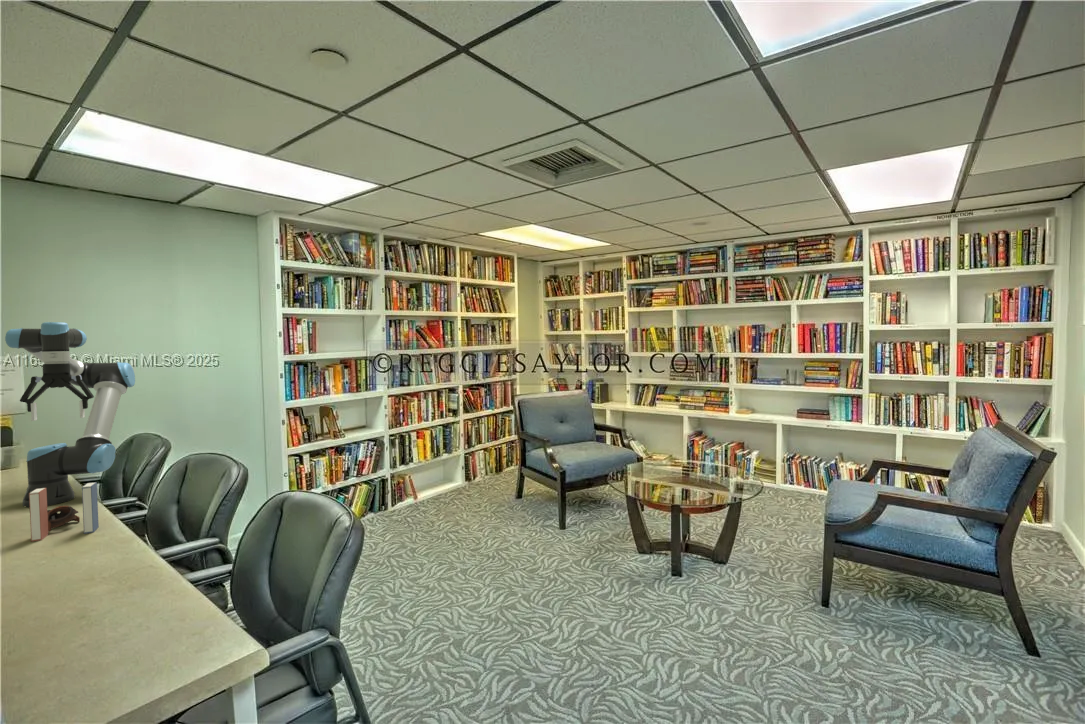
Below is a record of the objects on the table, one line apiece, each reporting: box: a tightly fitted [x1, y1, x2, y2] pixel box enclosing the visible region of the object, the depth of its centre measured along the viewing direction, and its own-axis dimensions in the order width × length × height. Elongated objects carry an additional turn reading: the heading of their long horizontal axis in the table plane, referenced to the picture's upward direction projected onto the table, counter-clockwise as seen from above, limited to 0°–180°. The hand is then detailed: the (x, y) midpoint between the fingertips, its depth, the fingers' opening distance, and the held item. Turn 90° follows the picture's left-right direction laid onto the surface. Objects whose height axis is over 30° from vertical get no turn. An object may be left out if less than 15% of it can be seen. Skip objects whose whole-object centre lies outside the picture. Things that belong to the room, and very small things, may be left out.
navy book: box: [81, 481, 100, 535], centre depth 173 cm, size 6×2×16 cm, turn 29°
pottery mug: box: [47, 505, 81, 532], centre depth 177 cm, size 12×9×8 cm
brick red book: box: [29, 488, 49, 542], centre depth 167 cm, size 6×2×16 cm, turn 29°
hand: (58, 419), depth 190 cm, fingers open, 13 cm apart
